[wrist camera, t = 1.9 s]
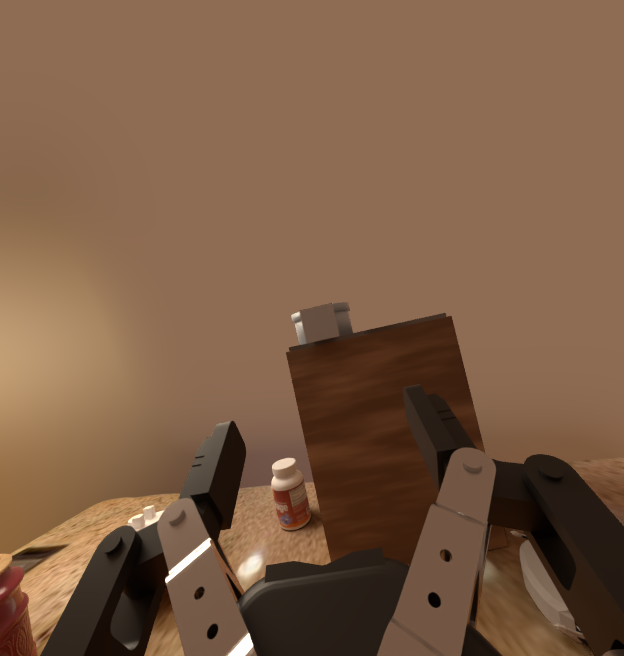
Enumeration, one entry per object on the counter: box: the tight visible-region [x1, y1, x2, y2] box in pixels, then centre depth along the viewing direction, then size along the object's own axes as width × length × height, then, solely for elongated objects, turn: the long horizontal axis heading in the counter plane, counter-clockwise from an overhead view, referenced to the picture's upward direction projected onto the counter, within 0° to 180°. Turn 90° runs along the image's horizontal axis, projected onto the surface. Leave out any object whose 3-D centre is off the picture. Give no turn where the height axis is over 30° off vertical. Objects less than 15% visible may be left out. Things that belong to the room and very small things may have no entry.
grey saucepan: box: [292, 303, 353, 345], centre depth 42 cm, size 23×10×5 cm, turn 176°
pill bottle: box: [271, 458, 311, 530], centre depth 56 cm, size 6×6×11 cm
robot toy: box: [510, 531, 589, 646], centre depth 29 cm, size 12×4×15 cm
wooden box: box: [286, 313, 508, 564], centre depth 49 cm, size 16×24×33 cm, turn 86°
